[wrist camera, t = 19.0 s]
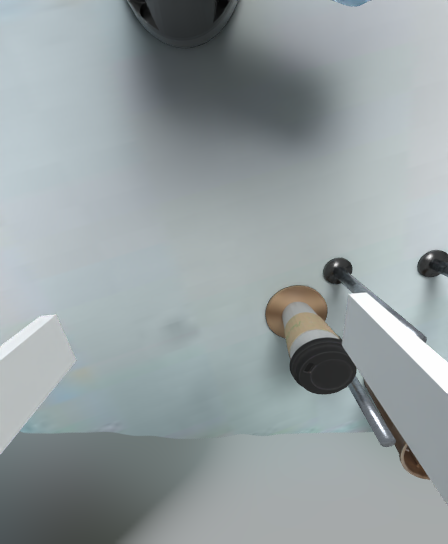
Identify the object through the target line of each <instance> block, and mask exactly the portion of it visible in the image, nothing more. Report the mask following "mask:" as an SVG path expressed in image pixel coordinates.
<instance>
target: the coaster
mask: <svg viewBox="0 0 448 544" xmlns="http://www.w3.org/2000/svg"><path fill="white" fill-rule="evenodd" d="M293 302H304V303H306V304H308V305H309V306H310V307H311V308H312V309H313V310H314V311H315V313H316V314H317V315H318V316H320V317H321V318H322V319H323V320H324V321H325V320H326V317H327V305H326V302H325V300H324V299H323V297H322V296H321V295H320V294H319V293H318V292H317V291H316V290H314V289H313V288H310V287H307V286H301V285H296V286H290V287H287V288H284V289H282V290H280V291H279V292H277V293H276V294H275V295H274V296H273V297H272V298H271V299H270V300H269V302H268V304H267V307H266V313H265V315H266V320H267V324H268V326H269V327H270V329H271V330H272V331H273V332H274V333H275V334H277V335H278V336H280V337H283V338H285V331H284V330H285V329H284V324H283V319H282V314H283V311H284V309H285V308H286V306H287V305H289V304H290V303H293Z"/></svg>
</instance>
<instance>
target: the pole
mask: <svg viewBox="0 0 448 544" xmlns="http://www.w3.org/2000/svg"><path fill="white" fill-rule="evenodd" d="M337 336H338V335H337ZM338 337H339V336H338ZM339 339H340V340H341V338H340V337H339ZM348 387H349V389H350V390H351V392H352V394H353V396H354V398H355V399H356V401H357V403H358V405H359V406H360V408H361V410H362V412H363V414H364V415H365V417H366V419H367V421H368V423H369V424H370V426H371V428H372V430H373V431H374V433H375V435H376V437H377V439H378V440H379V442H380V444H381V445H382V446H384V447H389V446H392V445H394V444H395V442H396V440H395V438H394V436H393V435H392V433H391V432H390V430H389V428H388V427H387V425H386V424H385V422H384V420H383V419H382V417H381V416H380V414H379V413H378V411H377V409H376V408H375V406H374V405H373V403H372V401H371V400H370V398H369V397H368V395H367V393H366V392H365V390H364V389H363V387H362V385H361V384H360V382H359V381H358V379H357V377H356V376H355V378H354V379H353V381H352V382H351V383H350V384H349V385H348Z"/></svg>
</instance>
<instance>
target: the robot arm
mask: <svg viewBox="0 0 448 544" xmlns="http://www.w3.org/2000/svg"><path fill="white" fill-rule="evenodd" d="M237 1H238V0H127V2H128V3H129V5H130V7H131V8H132V10H133V12H134V14H135V15H136V17H137V18H138V20H139V21H140V22H141V24H142V25H143V26H144V27H145V28H146V30H147V31H148V32H150V33H151V34H152V35H153V36H154V37H156V38H157V39H159V40H160V41H162V42H164V43H166V44H168V45H171V46H175V47H181V48H188V47H195V46H198V45H201V44H203V43H205V42H207V41H209V40H210V39H212V38H213V37H214V36H216V35H217V34H218V33H219V32H220V31H221V30H222V28H223V27H224V26H225V25H226V23H227V22H228V20H229V19H230V17H231V15H232V13H233V11H234V9H235V6H236V4H237ZM332 1H335V2H338V3H341V4H344V5H347V6H360V5H362V4H364V3H366V2H368V1H371V0H332ZM342 346H343V348H344V349H345V351H346V352H347V354H348V355H349V357H350V358H351V360H352V361H353V363H354V364H355V366H356V367H357V369H358V370H359V372H360V373H361V375H362V376H363V378H364V379H365V381H366V382H367V384H368V386H369V387H370V389H371V390H372V392H373V393H374V395H375V396H376V398H377V399H378V401H379V402H380V404H381V405H382V407H383V408H384V410H385V411H386V413H387V414H388V416H389V417H390V419H391V420H392V422H393V423H394V425H395V427H396V428H397V430H398V431H399V433H400V434H401V436H402V437H403V439H404V440H405V442H406V443H407V445H408V446H409V448H410V449H411V451H412V452H413V454H414V455H415V457H416V458H417V460H418V461H419V463H420V464H421V466H422V468H423V469H424V471H425V472H426V474H427V475H428V477H429V478H430V480H431V481H432V482H433V484H434V486H435V487H436V489H437V490H438V492H439V493H440V495H441V496H442V498H443V499H444V501H445V502H446V504H447V505H448V362H446V361H445V360H444V359H443V358H442V357H441V356H439V355H438V354H437V353H436V352H435V351H434V350H433V349H431V348H430V347H429V346H428V345H427V344H426V343H424V342H423V341H422V340H421V339H420V338H419V337H418V336H416V335H415V334H414V333H413V332H412V331H411V330H409V329H408V328H407V327H406V326H405V325H404V324H402V323H401V322H400V321H399V320H398V319H397V318H396V317H394V316H393V315H392V314H391V313H390V312H389V311H387V310H386V309H385V308H384V307H383V306H382V305H380V304H379V303H378V302H377V301H376V300H375V299H374V298H372V297H371V296H370V295H369V294H368V293H367V292H366V293H352V294H348V300H347V308H346V315H345V323H344V331H343V339H342ZM76 361H77V360H76V358H75V356H74V353H73V351H72V349H71V347H70V344H69V342H68V340H67V337H66V335H65V333H64V330H63V328H62V326H61V324H60V321H59V319H58V317H57V315H43V316H40V317H38V318H37V319H36V320H34V321H33V322H32V323H30V324H29V325H28V326H26V327H25V328H24V329H22V330H21V331H20V332H18V333H17V334H16V335H14V336H13V337H12V338H10V339H9V340H8V341H6V342H5V343H4V344H2V345H1V346H0V454H1V453H2V452H3V451H4V449H5V448H6V447H7V446H8V444H9V443H10V442H11V441H12V440H13V438H14V437H15V436H16V435H17V433H18V432H19V431H20V430H21V429H22V427H23V426H24V425H25V424H26V422H27V421H28V420H29V419H30V417H31V416H32V415H33V414H34V413H35V411H36V410H37V409H38V408H39V406H40V405H41V404H42V403H43V401H44V400H45V399H46V398H47V397H48V395H49V394H50V393H51V392H52V390H53V389H54V388H55V387H56V385H57V384H58V383H59V382H60V381H61V379H62V378H63V377H64V376H65V374H66V373H67V372H68V371H69V369H70V368H71V367H72V366H73V365H74V363H75V362H76Z"/></svg>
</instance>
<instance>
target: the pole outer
mask: <svg viewBox="0 0 448 544" xmlns="http://www.w3.org/2000/svg"><path fill="white" fill-rule="evenodd" d="M418 271H419V272H420V273H421V274H422V275H424V276H427V277H434V276H437V275H439V274H442V275H444V276H447V277H448V254H447V253H446V252H443V251H440V250H433V251H430V252H428V253H426V254H425V255H424V256H422V258H421V259H420V260H419V262H418Z"/></svg>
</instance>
